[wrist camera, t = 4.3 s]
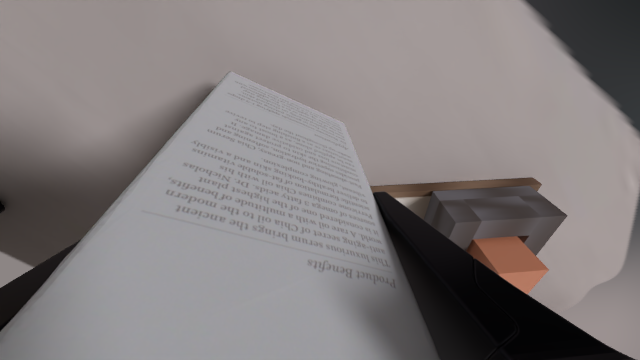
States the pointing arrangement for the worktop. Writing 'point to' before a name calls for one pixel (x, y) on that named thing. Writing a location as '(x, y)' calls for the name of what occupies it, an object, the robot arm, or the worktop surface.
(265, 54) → the worktop surface
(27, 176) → the worktop surface
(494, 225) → the square tray
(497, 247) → the button
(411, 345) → the skincare box
